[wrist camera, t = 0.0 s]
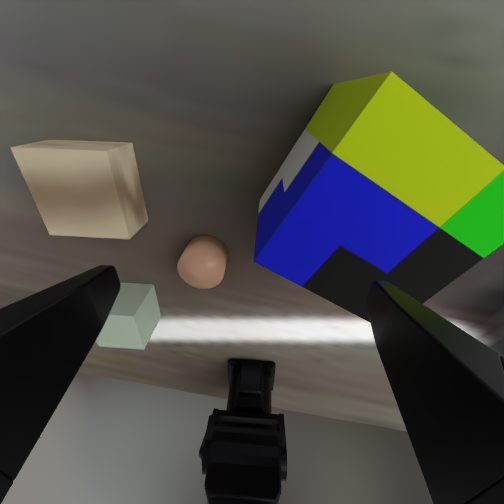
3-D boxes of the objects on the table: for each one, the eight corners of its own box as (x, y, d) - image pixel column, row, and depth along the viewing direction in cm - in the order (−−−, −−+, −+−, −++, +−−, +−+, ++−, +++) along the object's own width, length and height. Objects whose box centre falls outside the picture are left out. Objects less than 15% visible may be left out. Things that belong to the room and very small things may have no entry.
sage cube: (161, 315, 31) (144, 349, 27) (122, 312, 31) (99, 346, 27) (154, 283, 29) (133, 316, 24) (111, 281, 29) (83, 313, 25)
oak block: (149, 219, 24) (129, 239, 21) (80, 216, 25) (49, 234, 21) (133, 142, 21) (106, 151, 17) (52, 139, 21) (10, 147, 18)
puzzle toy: (259, 199, 23) (253, 261, 14) (333, 84, 18) (391, 71, 9) (346, 250, 25) (386, 330, 16) (432, 160, 20) (552, 206, 11)
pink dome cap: (229, 271, 27) (224, 290, 24) (188, 269, 27) (180, 287, 25) (227, 235, 25) (223, 251, 22) (184, 233, 25) (174, 249, 22)
